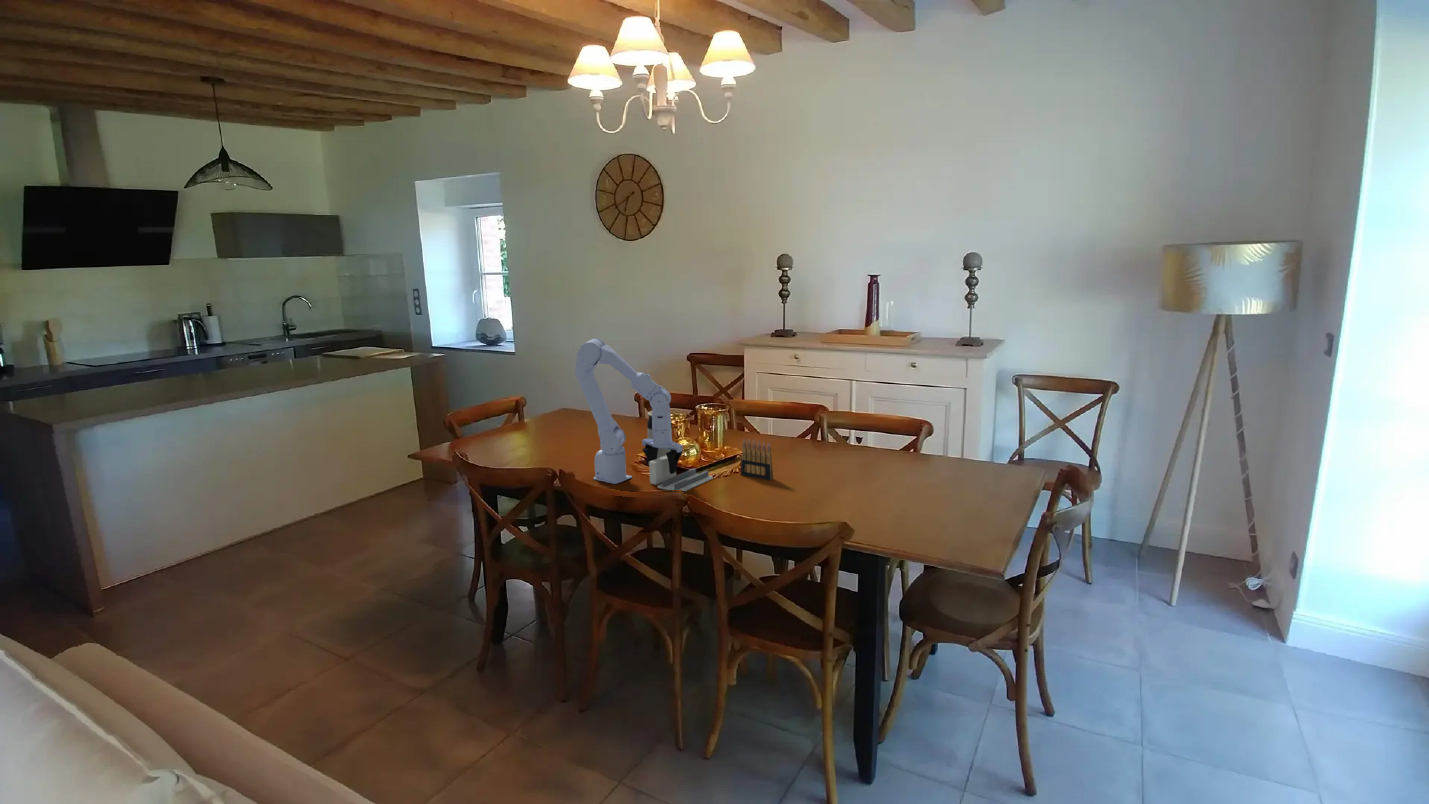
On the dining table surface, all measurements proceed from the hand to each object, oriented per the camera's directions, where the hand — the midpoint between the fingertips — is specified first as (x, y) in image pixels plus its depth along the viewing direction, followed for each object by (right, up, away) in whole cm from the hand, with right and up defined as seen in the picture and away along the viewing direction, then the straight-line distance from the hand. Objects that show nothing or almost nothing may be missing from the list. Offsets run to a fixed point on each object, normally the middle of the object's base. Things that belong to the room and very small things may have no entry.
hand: (663, 471), depth 226 cm
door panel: (0, -3, +1) cm, 3 cm away
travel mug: (-2, 0, +15) cm, 15 cm away
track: (+7, -3, -3) cm, 8 cm away
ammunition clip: (+29, -2, +2) cm, 29 cm away
